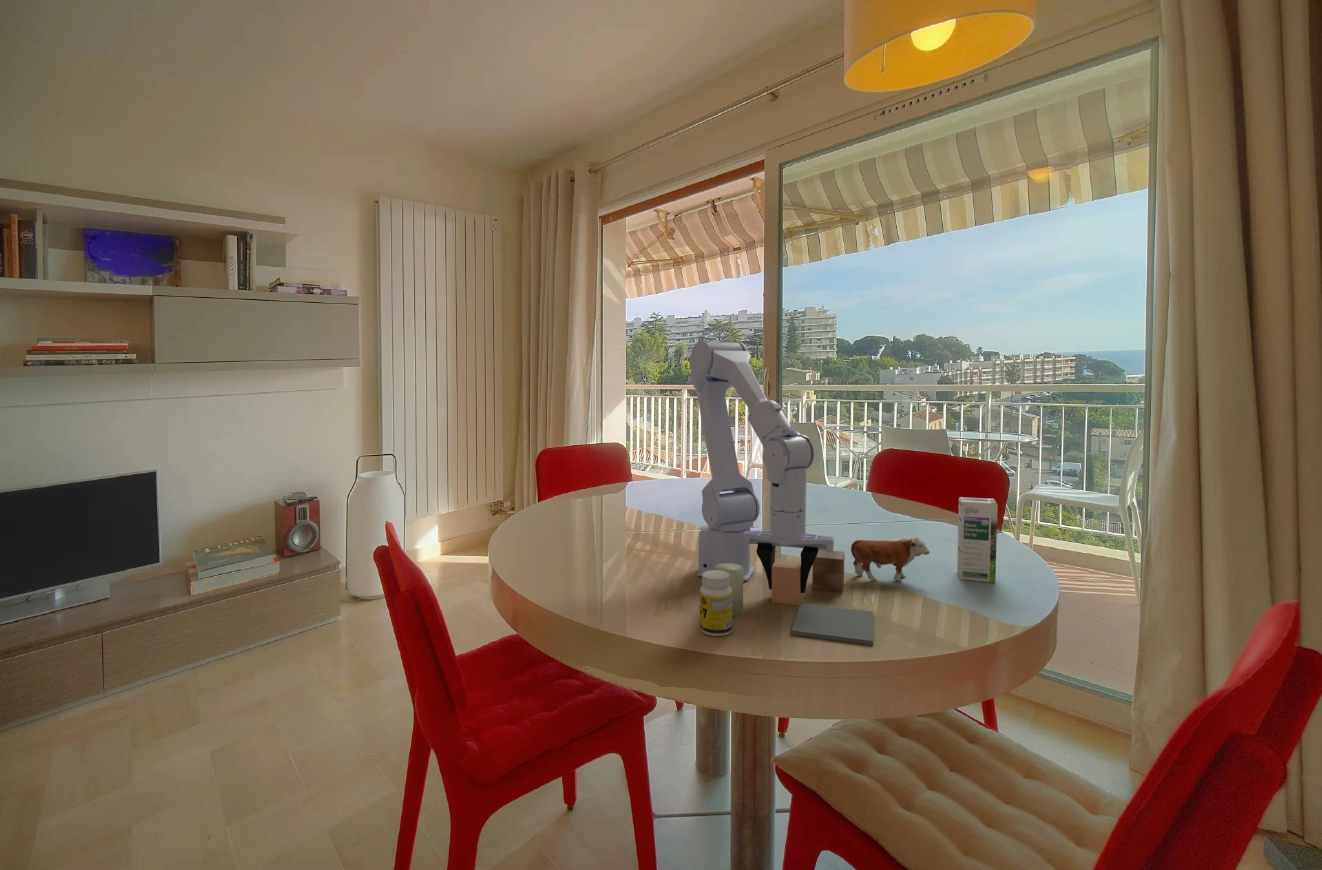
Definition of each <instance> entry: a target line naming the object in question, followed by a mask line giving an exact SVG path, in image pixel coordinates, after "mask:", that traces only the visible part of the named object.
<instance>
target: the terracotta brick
mask: <svg viewBox="0 0 1322 870" xmlns="http://www.w3.org/2000/svg"><path fill="white" fill-rule="evenodd" d="M800 585H801V560H794V559H783V558H775V562H774V563H773V565H772V590H771V603H774V604H775V603H777V604H784V605H785V604H786V605H795V606H800V604H801V603H802V601H803V600H802V599H803V596H804V593H801V589H800Z"/></svg>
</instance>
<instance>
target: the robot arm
mask: <svg viewBox="0 0 1322 870" xmlns="http://www.w3.org/2000/svg"><path fill="white" fill-rule="evenodd" d="M751 358H752V355H751V353H750V352H749V351H748V348H747V346H746V345H745V344H744V343H743V342H741V341H734V342H732V341H731V342H728V341H706V340H698V341H697V342H696V343H695V344H694V346H693V348H692V350H691V353H690V356H689V358H688V363H689V368H690V373H691V380H692V383H693V388H694V389H696V398H697V403H698V407H699V413H700V420H701V424H702V429H703V435H704V440H705V441H704V442H705V446H706V453H707V456H708V457H707V458H708V463H709V468H710V475H711V479H710V480H709V481H708V483H707V484H706V485H705V486H704V487H703V488H702V490H701V495H702V504H701V515H702V518H703V520H704V522H705V524H706V525H703V526H701V529H700V531H699V536H698V572H697V577H702V574H703V573H704V572H706V571H710V570H715V566H716V565H718V564H723V563H733V564H738V565H741V566H742V567H743V582H747V581H749V579H750V578H751V576H752V575H753V574H754V573H755V570H756V566H755V565H754V566H753V565H751V545H757V547H756V554H757V557H758V558H759V560H760V562H761V565H762V567H763V570H764V572H765V576H766V579H767V583H768V589H769V590H771V591H772V565H773V563H774V562H775V560H776V547H784V548H785V547H786V548H797V549H802V550H801V551H800V561H801V585H800V589H801V593H803V594H806V592H807V584H808V583H807V582H808V579H809V575H810V571H811V569H812V568H813V563H814V561H815V559H816V557H817V554H818V551H819V550H826V551H830V552H833V551H834V549H835V545H834V543H835V538H834V536H826V535H819V534H813V533H812V534H811V533H806V531H807V530H806V527H807V526H806V523H807V521H806V520H807V518H806V517H807V515H806V514H807V511H806V510H807V509H806V508H807V469H809V468H810V467H811V466H812V464H813V463H814V458H815V450H814V446H813V443H812V441H811V439H810V438H809V437H808V436H807V435H805V434H801V433H800V432H799V431H798V430H795V429H794V427H793V426H792V424H791V422H790V421H789V420H788V418H787V417H786V415H785V413H784V412H783V409H782V406H781V405H780V403H777V402H776V401H775V400H771V399H770V400H769V399H767V397H766V395H765V393H764V390H763V389H762V387H761V385H760V383H759V381H758V378H756V375H755V373H754V372H753V369H752V367H751V362H752V360H751ZM732 388H733V389H734V390H735V392H736V393H737V394H738V396H739V397H740V398H741V400H742V402H744V404H745V405H746V407H747V409H748V410H749V411H748V415H747V421H748V423H749V424H750V426H751V427H752V429H753V431H754V432H755V435H756V436H757V438H758V439H759V441H760V443H761V446H763V448H764V452H762V459H763V464H764V466H765V468H766V471H767V472H766V473H767V476H766V477H767V480H768V482H770V484H769V485H770V486H769V487H770V488H769V489H770V494H769V495H770V497H769V498H770V499H769V501H770V503H769V507H770V510H769V513H770V514H769V515H770V517H769V518H770V519H769V520H770V521H769V523H770V524H769V528H770V529H769V530H751V528H753V527H754V522H756V521H757V520H758V518H759V515H760V509H761V506H760V501H759V499H758V496H757V495H756V494H755V491H754V487H753V483H752V481H750V480H749V479H747V477H745V476H744V475H742V474H741V473H740V468H739V467H740V466H739V463H738V457H737V452H736V448H735V447H736V446H735V442H734V436H733V431H732V425H731V421H730V414H729V410H728V405H727V404H728V403H727V400H726V393H727V391H728V390H730V389H732ZM724 492H725V493H724Z"/></svg>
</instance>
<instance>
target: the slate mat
mask: <svg viewBox="0 0 1322 870" xmlns="http://www.w3.org/2000/svg"><path fill="white" fill-rule="evenodd" d="M798 606H799V607H798V610H797V613H796V615H795V618H794V621H793V624H792V627H791V630H790V634H791V635H792V636H798V637H799V636H801V637H807V638H814V639H815V638H816V639H823V640H830V641H839V642H845V643H854V644H862V645H867V646H868V645H869V646H874V611H872V610H871V611H870V610H864V609H863V610H862V609H855V608H854V609H853V608H843V607H836V606H827V605H825V606H824V605H817V604H808V603H802V602H801V603H800V605H798Z"/></svg>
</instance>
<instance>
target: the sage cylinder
mask: <svg viewBox="0 0 1322 870" xmlns="http://www.w3.org/2000/svg"><path fill="white" fill-rule="evenodd" d="M715 570H720V571H725V572H727V573H729V575H730V585H729V586H730V587H731V588H732V614H733V617H736V616H740V615H741V614H743V613H744V581H743V567H742V566H741V565H738V564H733V563H723V564H718V565H716V566H715Z"/></svg>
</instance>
